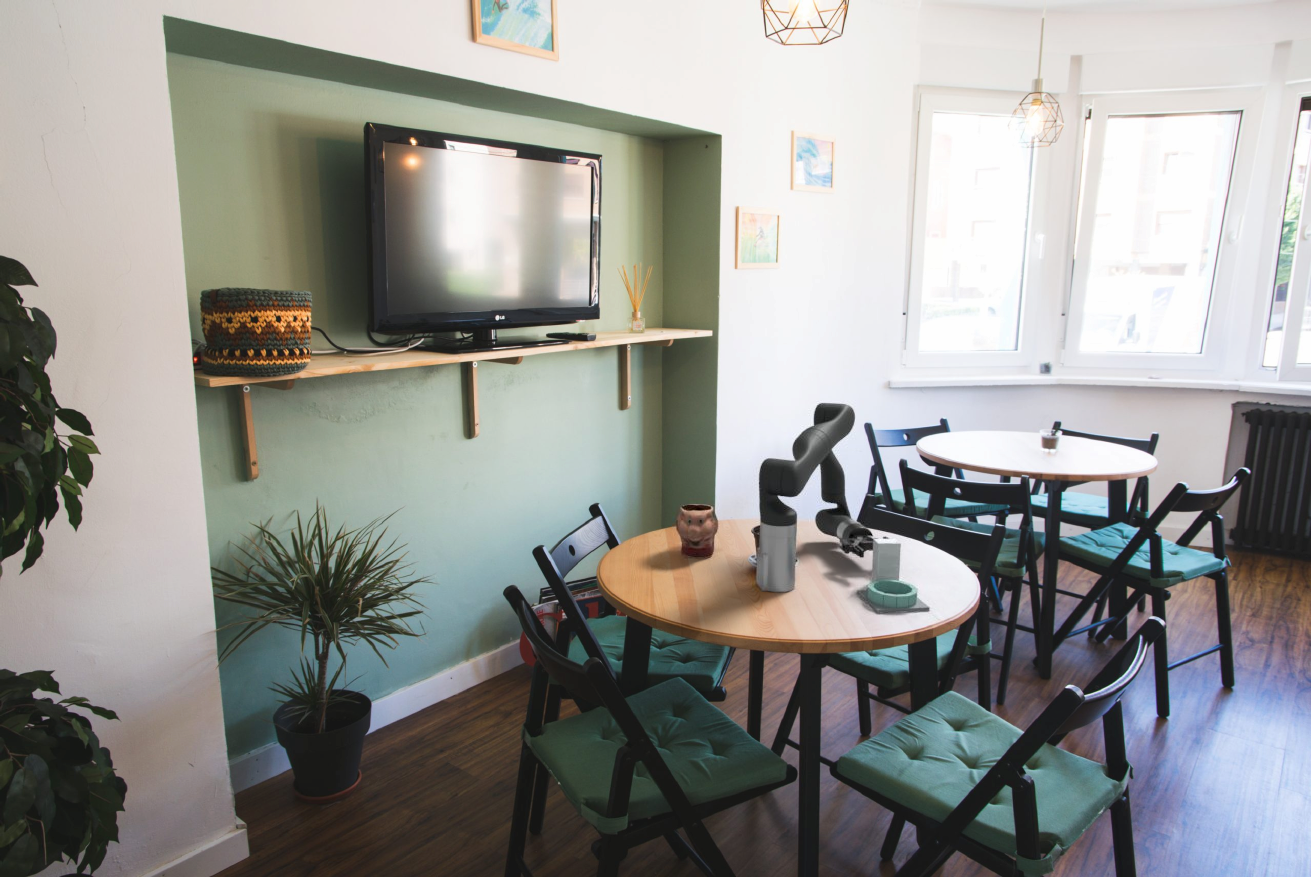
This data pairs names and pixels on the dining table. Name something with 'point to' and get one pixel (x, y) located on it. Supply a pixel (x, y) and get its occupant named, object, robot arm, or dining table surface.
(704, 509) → the decorative planter
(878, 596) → the collar holder
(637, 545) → the dining table surface
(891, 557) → the skincare box
